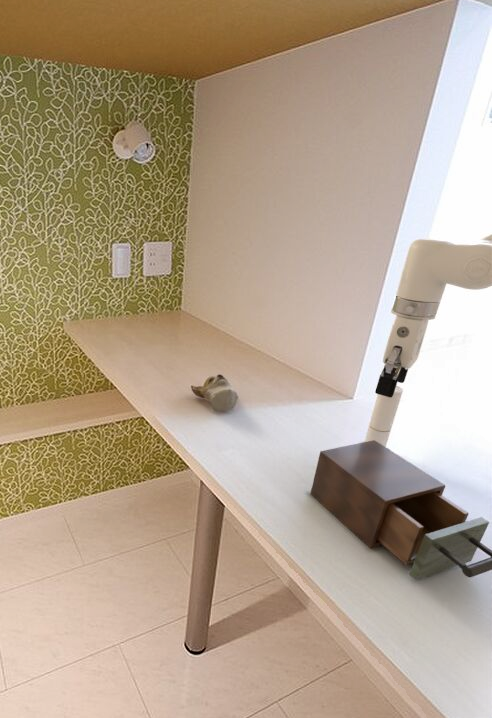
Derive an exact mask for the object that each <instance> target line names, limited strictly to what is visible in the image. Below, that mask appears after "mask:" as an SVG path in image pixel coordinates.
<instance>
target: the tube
mask: <svg viewBox="0 0 492 718" xmlns="http://www.w3.org/2000/svg"><path fill="white" fill-rule="evenodd" d="M403 392H404V389H403V388H402V387H401V386H398V385H396V388H395V391H394V394H393V396H392V397H391V398H390V397H386V396H383V395H379V394H376V399H375V402H374V406H373V410H372V414H371V416H370V421H369V423H368V428H367V431H366V436H365V438H364V442H368V441H373V440H375V441H376V442H378V443H380V444H381V445H383V446H384V447H386V448H387V444H388V441H389V438H390V434H391V431H392V427H393V424H394V421H395V418H396V414H397V412H398V409H399V405H400V401H401V398H402V396H403Z"/></svg>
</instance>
